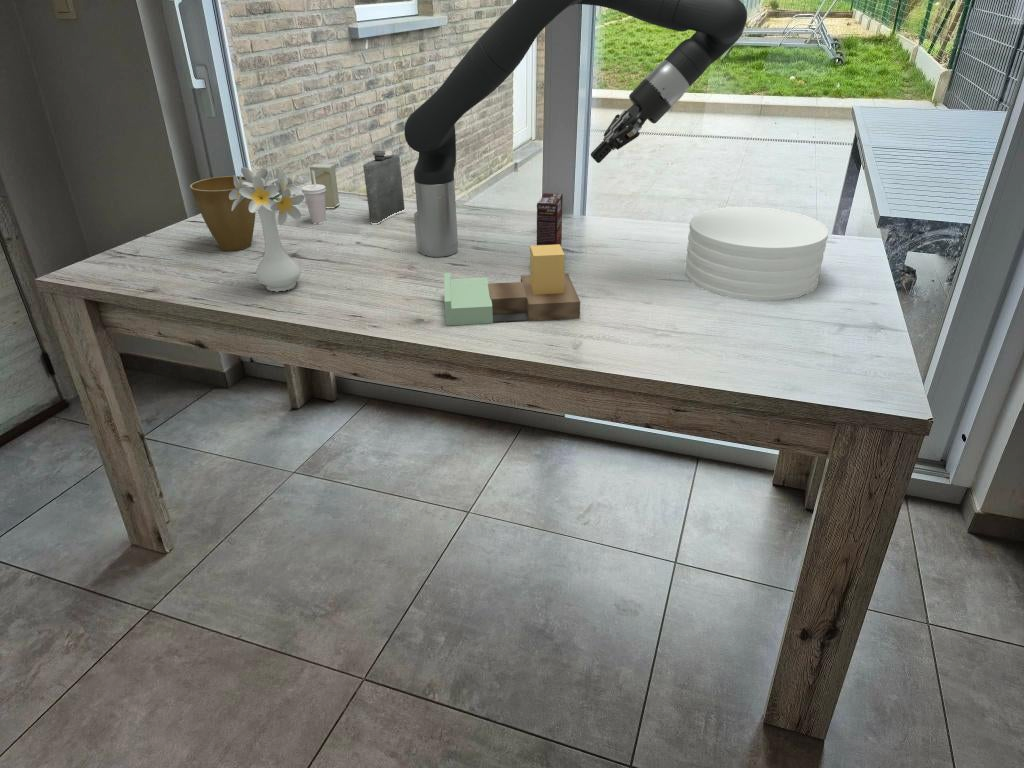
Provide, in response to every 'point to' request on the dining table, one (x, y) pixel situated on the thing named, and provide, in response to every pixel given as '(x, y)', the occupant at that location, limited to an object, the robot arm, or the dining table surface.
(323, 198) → the smoothie
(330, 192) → the skincare box
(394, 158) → the flask
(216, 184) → the plant pot
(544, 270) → the block
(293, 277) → the flower vase
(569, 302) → the board
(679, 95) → the robot arm
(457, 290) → the pale green stepped block
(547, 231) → the supplement box
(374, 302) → the dining table surface
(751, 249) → the plate stack
